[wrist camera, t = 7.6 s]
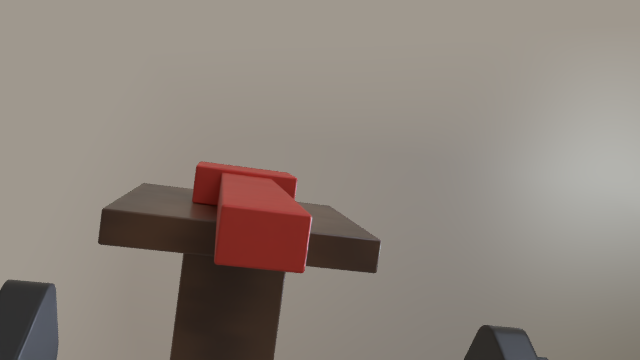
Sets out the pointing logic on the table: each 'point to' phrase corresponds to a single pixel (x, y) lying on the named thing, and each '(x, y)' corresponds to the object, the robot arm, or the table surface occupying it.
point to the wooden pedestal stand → (225, 269)
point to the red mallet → (254, 217)
